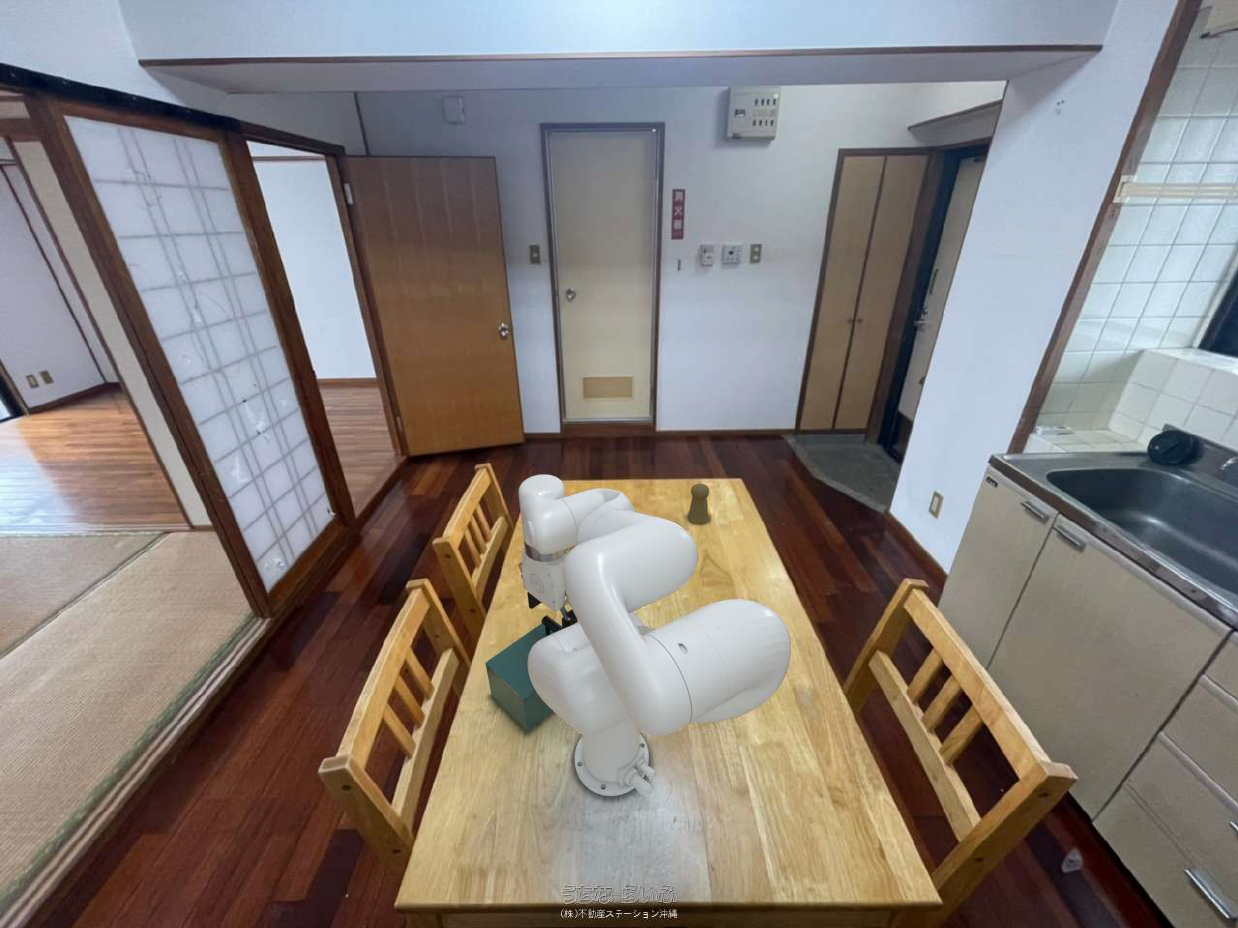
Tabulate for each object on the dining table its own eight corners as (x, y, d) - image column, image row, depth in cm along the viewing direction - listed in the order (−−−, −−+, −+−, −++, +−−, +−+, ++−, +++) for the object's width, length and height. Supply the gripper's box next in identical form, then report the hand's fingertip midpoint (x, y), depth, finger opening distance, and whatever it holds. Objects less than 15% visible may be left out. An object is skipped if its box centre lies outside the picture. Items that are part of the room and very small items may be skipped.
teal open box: (546, 654, 108) (543, 625, 104) (582, 685, 101) (581, 655, 97) (491, 695, 99) (485, 665, 95) (527, 732, 92) (523, 701, 88)
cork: (684, 514, 154) (686, 482, 149) (702, 511, 156) (705, 479, 151) (693, 525, 149) (695, 493, 144) (711, 521, 151) (714, 489, 145)
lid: (546, 623, 104) (544, 602, 102) (584, 652, 98) (582, 631, 95) (485, 665, 95) (481, 644, 93) (523, 701, 88) (519, 679, 86)
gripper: (498, 533, 91) (508, 605, 100) (563, 577, 81) (568, 654, 89) (532, 515, 96) (539, 585, 104) (597, 555, 86) (599, 630, 94)
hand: (552, 617), depth 97 cm, fingers open, 9 cm apart
